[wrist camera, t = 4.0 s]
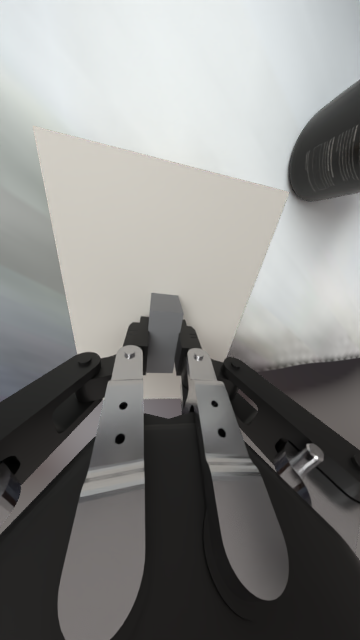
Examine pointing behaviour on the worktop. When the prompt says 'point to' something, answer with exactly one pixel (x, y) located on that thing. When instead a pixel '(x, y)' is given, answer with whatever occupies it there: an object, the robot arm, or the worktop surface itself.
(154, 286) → the mailer lid
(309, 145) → the supplement bottle
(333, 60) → the worktop surface
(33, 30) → the worktop surface
